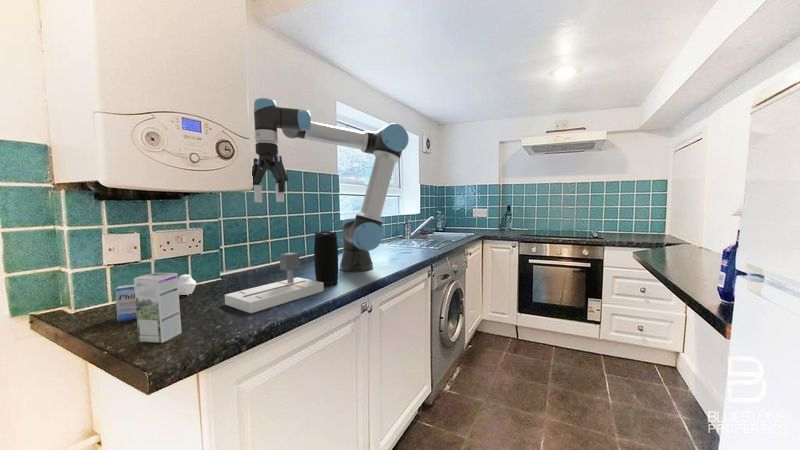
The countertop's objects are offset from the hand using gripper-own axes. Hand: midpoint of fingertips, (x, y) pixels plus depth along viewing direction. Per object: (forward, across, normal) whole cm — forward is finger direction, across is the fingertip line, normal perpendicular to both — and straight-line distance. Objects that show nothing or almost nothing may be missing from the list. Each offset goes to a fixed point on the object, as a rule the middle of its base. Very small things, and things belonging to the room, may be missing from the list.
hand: (268, 202), depth 115 cm
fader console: (+31, +17, -9) cm, 36 cm away
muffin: (+31, -12, -24) cm, 41 cm away
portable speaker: (+31, +18, +11) cm, 37 cm away
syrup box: (+31, +22, -42) cm, 56 cm away
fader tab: (+27, +17, -4) cm, 32 cm away
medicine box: (+31, 0, -40) cm, 51 cm away
